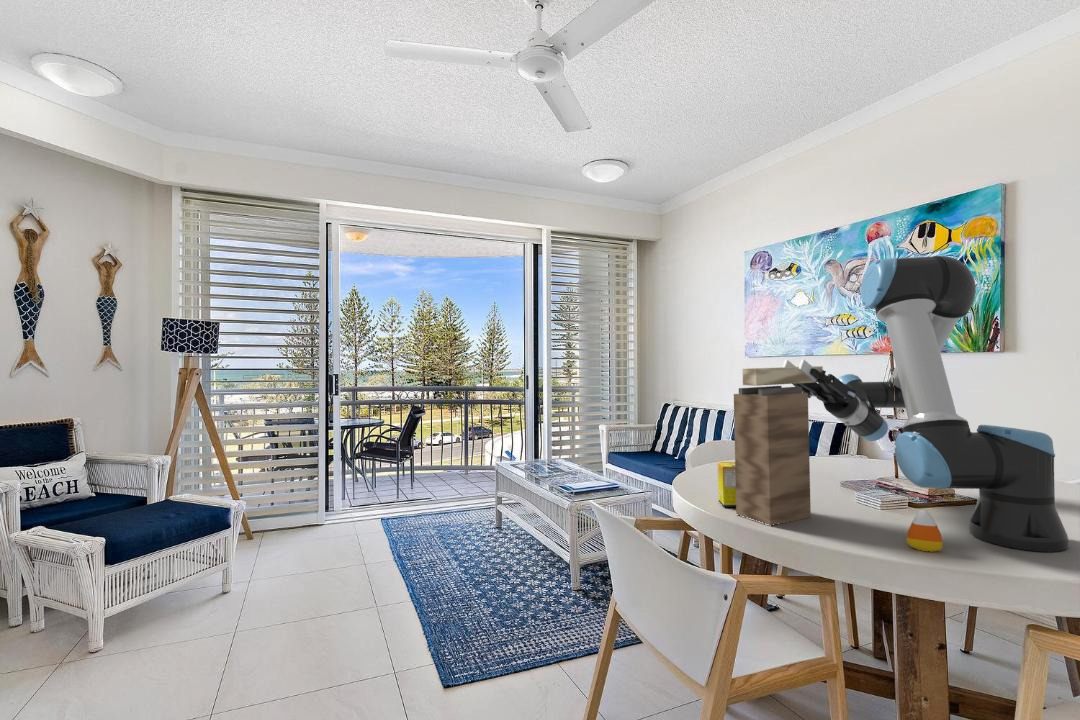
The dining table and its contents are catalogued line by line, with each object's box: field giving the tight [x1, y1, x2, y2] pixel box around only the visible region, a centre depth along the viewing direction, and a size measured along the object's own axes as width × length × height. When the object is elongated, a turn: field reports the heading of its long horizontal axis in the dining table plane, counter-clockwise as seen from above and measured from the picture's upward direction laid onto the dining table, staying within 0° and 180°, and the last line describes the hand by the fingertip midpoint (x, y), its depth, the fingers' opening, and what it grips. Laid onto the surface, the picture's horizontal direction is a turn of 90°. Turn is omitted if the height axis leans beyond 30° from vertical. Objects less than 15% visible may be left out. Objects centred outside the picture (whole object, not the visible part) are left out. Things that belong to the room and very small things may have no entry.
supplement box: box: [717, 461, 736, 508], centre depth 138 cm, size 6×6×11 cm
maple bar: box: [742, 365, 824, 387], centre depth 130 cm, size 4×24×4 cm, turn 116°
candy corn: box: [906, 509, 944, 553], centre depth 104 cm, size 6×3×8 cm, turn 63°
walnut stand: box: [733, 385, 812, 525], centre depth 128 cm, size 10×14×32 cm
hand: (792, 364), depth 132 cm, fingers closed on maple bar, 4 cm apart
